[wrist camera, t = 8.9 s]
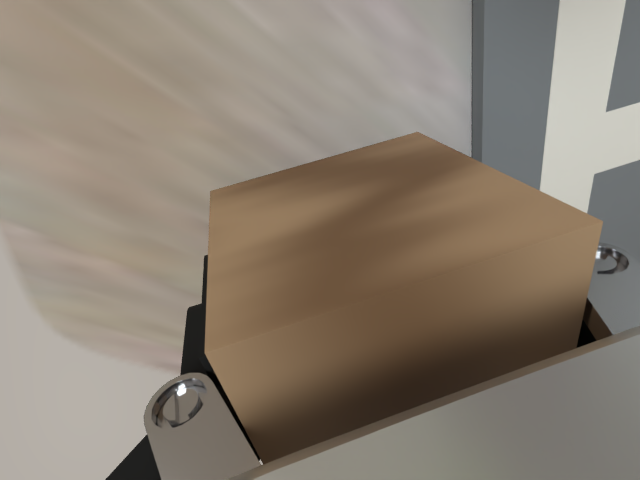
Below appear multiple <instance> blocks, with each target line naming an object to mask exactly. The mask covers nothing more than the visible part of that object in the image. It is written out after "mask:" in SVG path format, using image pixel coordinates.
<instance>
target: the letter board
mask: <svg viewBox="0 0 640 480" xmlns="http://www.w3.org/2000/svg"><path fill="white" fill-rule="evenodd" d="M472 158H473V159H475V160H477V161H479V162H481V163H483V164H485V165H487V166H489V167H492V168H494V169H496V170H498V171H500V172H502V173H504V174H506V175H508V176H510V177H512V178H514V179H516V180H519V181H521V182H523V183H525V184H527V185H529V186H531V187H533V188H535V189H537V190H539V191H541V192H543V193H546V194H548V195H550V196H552V197H554V198H556V199H558V200H560V201H562V202H564V203H566V204H568V205H570V206H573V207H575V208H577V209H579V210H581V211H583V212H585V213H587V214H589V215H591V216H593V217H595V218H597V219H600V220H602V221H603V225H602V230H601V234H600V239H599V242H600V243H607V244H610V245H614V246H618V247H620V248H622V249H624V250H626V251H628V252H629V253H630V254H632V255H633V256H634V257H635V258H636V259H637V260H638V261H639V262H640V0H473V28H472Z"/></svg>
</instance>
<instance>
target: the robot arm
mask: <svg viewBox="0 0 640 480" xmlns="http://www.w3.org/2000/svg"><path fill="white" fill-rule="evenodd" d="M207 272H208V255H206V256H204V271H203V290H202V304H198V305H195V306H192V307H189V308H188V311H187V318H186V327H185V337H184V346H183V356H182V365H181V375H180V376H178V377H176V378H174V379H172V380H170V381H169V382H167V383H166V384H165V385H163V386H162V387H161V388H160V389H159V390H158V391H157V392H156V393H155V394H154V395H153V396H152V398H151V400H150V401H149V403H148V405H147V407H146V410H145V414H144V425H145V428H146V432H147V435H146V436H145V437H144V438H143V439H142V441H141V442H140V443H139V444H138V445H137V446H136V447H135V448H134V449H133V450H132V451H131V452H130V453H129V455H128V456H127V457H126V458H125V459H124V460H123V461H122V462H121V463H120V464H119V465H118V466H117V468H116V469H115V470H114V471H113V472H112V473H111V474H110V475H109V476H108V477H107V478H106V480H640V262H639V261H638V260H637V259H636V258H635V257H634V256H633V255H632V254H630V253H629V252H628V251H626V250H624V249H622V248H620V247H618V246H614V245H610V244H607V243H600V242H599V244H598V249H597V253H596V258H595V263H594V267H593V272H592V277H591V282H590V286H589V291H588V296H587V300H586V305H585V310H584V315H583V319H582V324H581V329H580V333H579V338H578V343H577V348H576V349H573V350H570V351H567V352H565V353H562V354H559V355H556V356H553V357H551V358H548V359H545V360H542V361H540V362H537V363H534V364H531V365H529V366H526V367H523V368H520V369H518V370H515V371H512V372H510V373H507V374H504V375H501V376H499V377H496V378H493V379H490V380H488V381H485V382H482V383H480V384H477V385H474V386H471V387H469V388H466V389H463V390H461V391H458V392H455V393H452V394H450V395H447V396H444V397H442V398H439V399H436V400H433V401H431V402H428V403H425V404H423V405H420V406H417V407H414V408H412V409H409V410H406V411H404V412H401V413H398V414H396V415H393V416H390V417H388V418H385V419H382V420H380V421H377V422H374V423H372V424H369V425H366V426H364V427H361V428H358V429H355V430H353V431H350V432H347V433H345V434H342V435H339V436H337V437H334V438H331V439H329V440H326V441H323V442H321V443H318V444H315V445H313V446H310V447H307V448H305V449H302V450H299V451H297V452H294V453H292V454H289V455H287V456H284V457H281V458H279V459H276V460H274V461H271V462H269V463H266V464H264V465H261V464H260V462H259V460H260V457H259V455H258V453H257V451H256V449H255V448H254V446H253V444H252V442H251V440H250V438H249V436H248V434H247V432H246V431H245V429H244V427H243V425H242V423H241V421H240V419H239V417H238V415H237V414H236V412H235V410H234V408H233V406H232V404H231V402H230V400H229V398H228V396H227V395H226V393H225V391H224V389H223V387H222V385H221V383H220V381H219V379H218V378H217V376H216V374H215V372H214V370H213V368H212V366H211V364H210V362H209V361H208V359H207V357H206V355H205V327H206V299H207Z"/></svg>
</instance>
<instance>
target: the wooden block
mask: <svg viewBox="0 0 640 480" xmlns="http://www.w3.org/2000/svg"><path fill="white" fill-rule="evenodd" d="M602 225H603V221H602V220H600V219H597V218H595V217H593V216H591V215H589V214H587V213H585V212H583V211H581V210H579V209H577V208H575V207H573V206H570V205H568V204H566V203H564V202H562V201H560V200H558V199H556V198H554V197H552V196H550V195H548V194H546V193H543V192H541V191H539V190H537V189H535V188H533V187H531V186H529V185H527V184H525V183H523V182H521V181H519V180H516V179H514V178H512V177H510V176H508V175H506V174H504V173H502V172H500V171H498V170H496V169H494V168H492V167H489V166H487V165H485V164H483V163H481V162H479V161H477V160H475V159H473V158H471V157H469V156H467V155H465V154H462V153H460V152H458V151H456V150H454V149H452V148H450V147H448V146H446V145H444V144H442V143H440V142H438V141H435V140H433V139H431V138H429V137H427V136H425V135H423V134H421V133H419V132H416V133H412V134H409V135H405V136H402V137H398V138H395V139H391V140H388V141H384V142H381V143H377V144H374V145H370V146H367V147H363V148H360V149H356V150H353V151H349V152H346V153H342V154H339V155H335V156H332V157H328V158H325V159H321V160H318V161H314V162H311V163H307V164H304V165H300V166H297V167H293V168H290V169H286V170H283V171H279V172H276V173H272V174H269V175H265V176H262V177H258V178H255V179H251V180H248V181H244V182H241V183H237V184H234V185H230V186H227V187H223V188H220V189H216V190H213V191H210V217H209V245H208V272H207V299H206V327H205V355H206V357H207V359H208V361H209V362H210V364H211V366H212V368H213V370H214V372H215V374H216V376H217V378H218V379H219V381H220V383H221V385H222V387H223V389H224V391H225V393H226V395H227V396H228V398H229V400H230V402H231V404H232V406H233V408H234V410H235V412H236V414H237V415H238V417H239V419H240V421H241V423H242V425H243V427H244V429H245V431H246V432H247V434H248V436H249V438H250V440H251V442H252V444H253V446H254V448H255V449H256V451H257V453H258V455H259V457H260V459H261V461H262V463H263V465H264V464H266V463H269V462H271V461H274V460H276V459H279V458H281V457H284V456H287V455H289V454H292V453H294V452H297V451H299V450H302V449H305V448H307V447H310V446H313V445H315V444H318V443H321V442H323V441H326V440H329V439H331V438H334V437H337V436H339V435H342V434H345V433H347V432H350V431H353V430H355V429H358V428H361V427H364V426H366V425H369V424H372V423H374V422H377V421H380V420H382V419H385V418H388V417H390V416H393V415H396V414H398V413H401V412H404V411H406V410H409V409H412V408H414V407H417V406H420V405H423V404H425V403H428V402H431V401H433V400H436V399H439V398H442V397H444V396H447V395H450V394H452V393H455V392H458V391H461V390H463V389H466V388H469V387H471V386H474V385H477V384H480V383H482V382H485V381H488V380H490V379H493V378H496V377H499V376H501V375H504V374H507V373H510V372H512V371H515V370H518V369H520V368H523V367H526V366H529V365H531V364H534V363H537V362H540V361H542V360H545V359H548V358H551V357H553V356H556V355H559V354H562V353H565V352H567V351H570V350H573V349H576V348H577V343H578V338H579V333H580V329H581V324H582V319H583V315H584V310H585V305H586V300H587V296H588V291H589V286H590V282H591V277H592V272H593V267H594V263H595V258H596V253H597V249H598V244H599V239H600V234H601V230H602Z"/></svg>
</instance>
